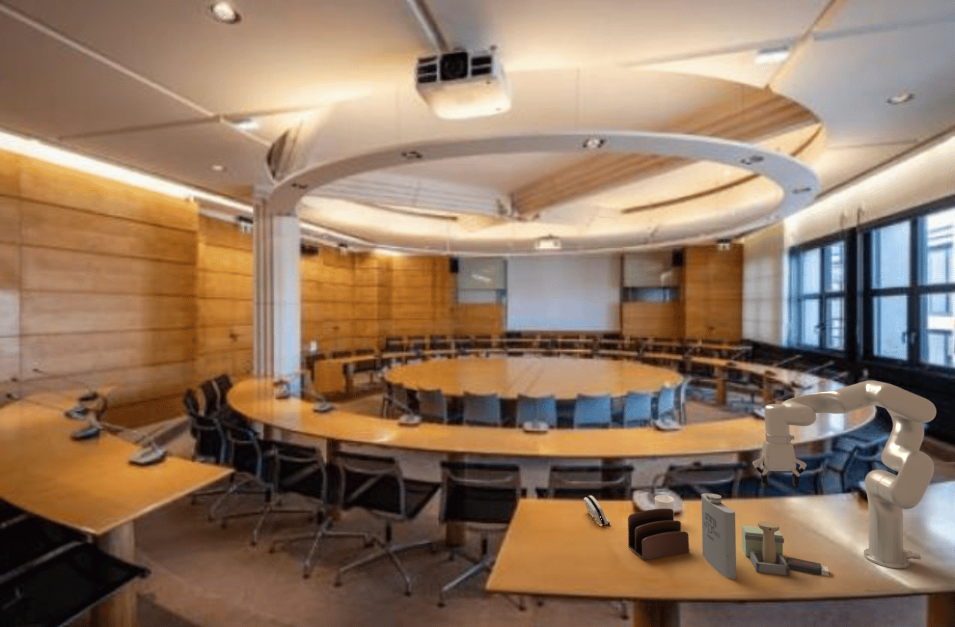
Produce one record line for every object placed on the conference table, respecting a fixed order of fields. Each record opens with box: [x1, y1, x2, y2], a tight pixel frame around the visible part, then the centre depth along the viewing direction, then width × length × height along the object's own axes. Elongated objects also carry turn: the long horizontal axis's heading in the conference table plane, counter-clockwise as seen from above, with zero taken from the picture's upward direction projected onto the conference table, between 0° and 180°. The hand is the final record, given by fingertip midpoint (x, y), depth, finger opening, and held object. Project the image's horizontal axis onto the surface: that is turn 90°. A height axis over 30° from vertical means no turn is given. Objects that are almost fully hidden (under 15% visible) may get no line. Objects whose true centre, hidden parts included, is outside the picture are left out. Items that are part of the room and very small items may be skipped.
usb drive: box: [786, 556, 830, 577], centre depth 171 cm, size 5×12×3 cm, turn 59°
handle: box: [757, 520, 780, 564], centre depth 173 cm, size 5×6×15 cm
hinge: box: [583, 495, 611, 525], centre depth 216 cm, size 17×5×10 cm, turn 6°
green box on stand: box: [741, 524, 790, 576], centre depth 177 cm, size 12×16×9 cm
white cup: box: [654, 494, 675, 512], centre depth 211 cm, size 8×8×10 cm
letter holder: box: [627, 508, 690, 561], centre depth 187 cm, size 10×20×14 cm, turn 104°
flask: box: [700, 492, 737, 580], centre depth 175 cm, size 17×5×25 cm, turn 4°
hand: (780, 485), depth 179 cm, fingers open, 9 cm apart
